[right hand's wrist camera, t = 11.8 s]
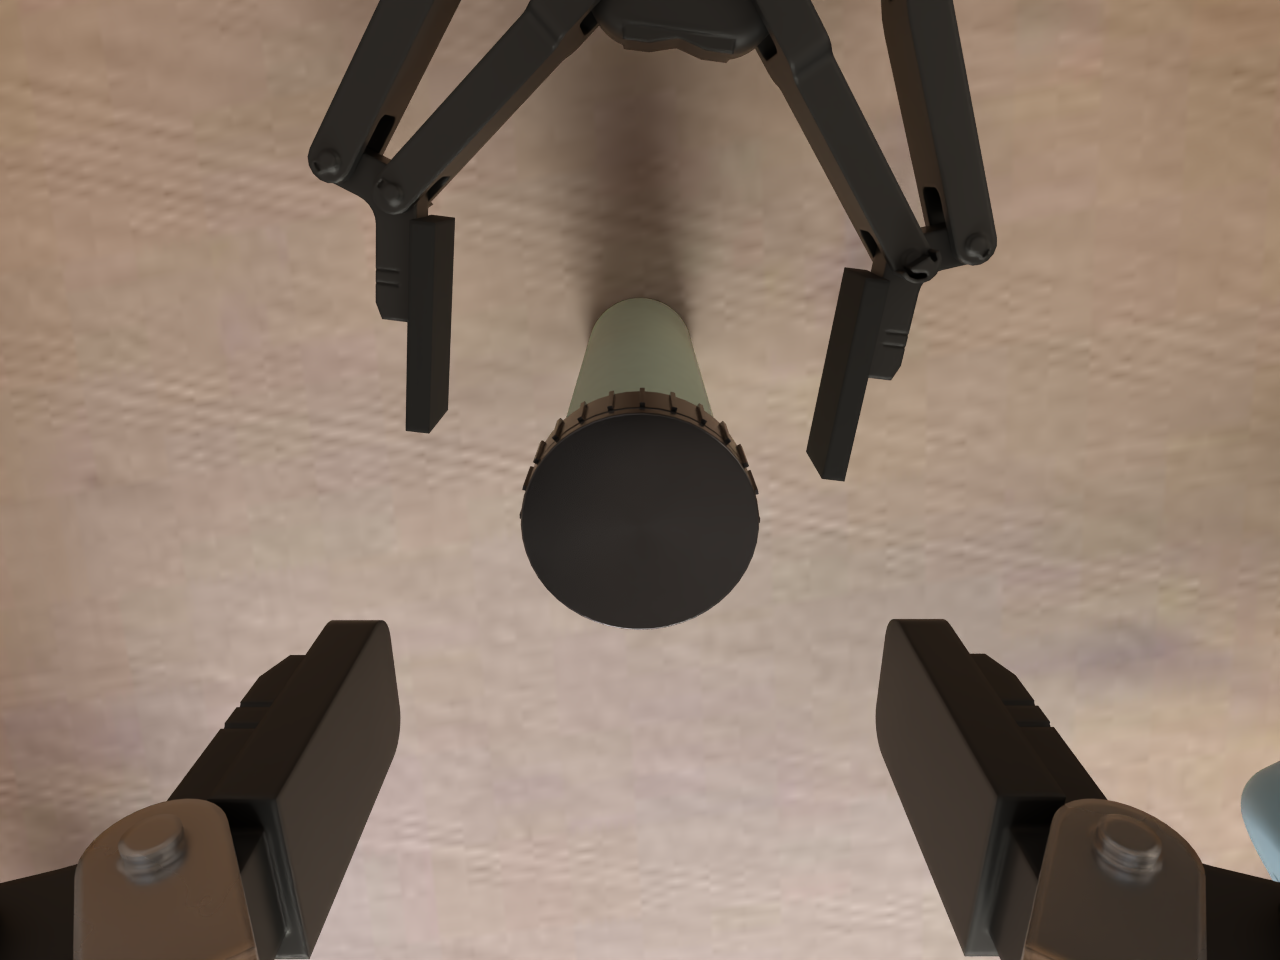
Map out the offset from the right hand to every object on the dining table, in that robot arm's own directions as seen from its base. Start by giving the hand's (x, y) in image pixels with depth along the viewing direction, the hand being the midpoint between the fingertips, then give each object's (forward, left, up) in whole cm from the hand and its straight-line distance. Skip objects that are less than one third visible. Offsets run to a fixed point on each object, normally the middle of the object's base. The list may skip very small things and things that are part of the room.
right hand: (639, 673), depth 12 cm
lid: (0, 0, -5) cm, 5 cm away
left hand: (-1, -2, -16) cm, 16 cm away
